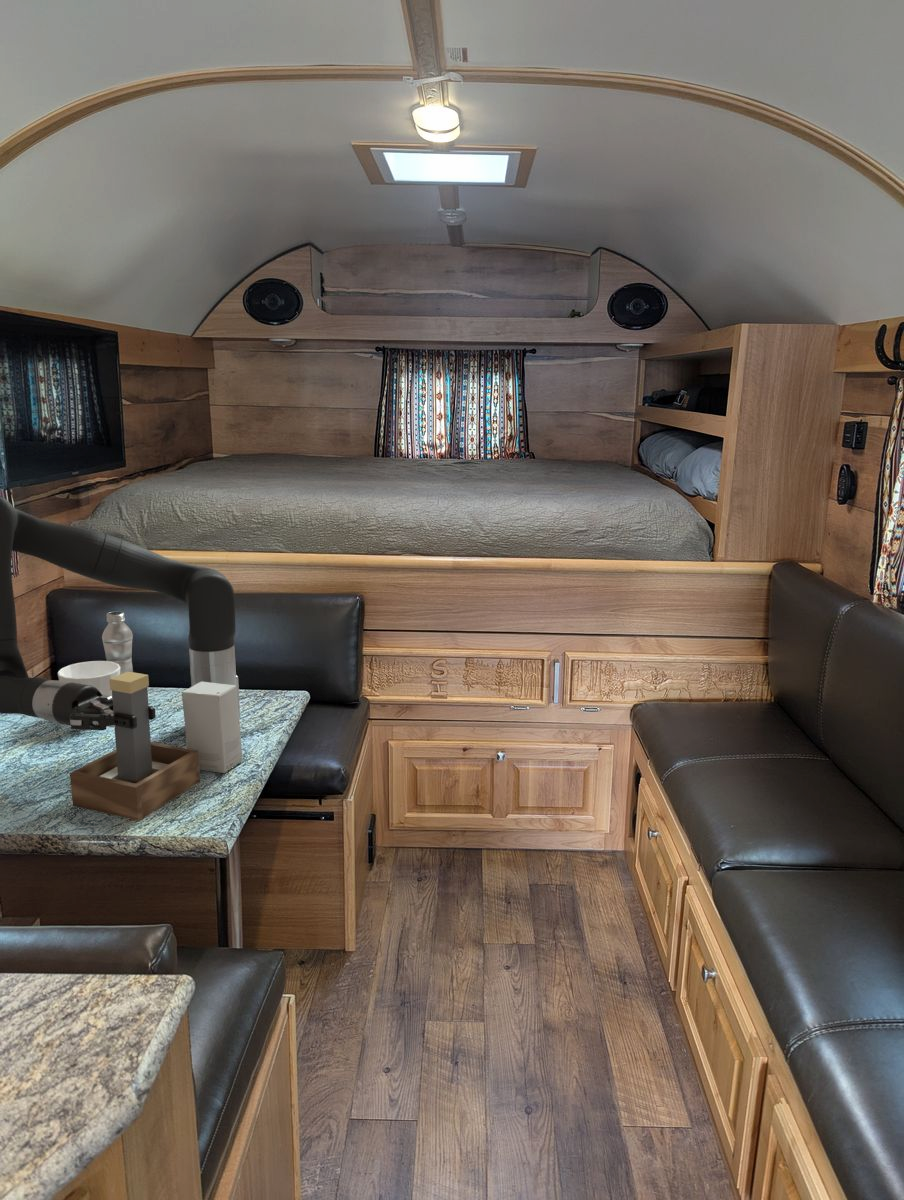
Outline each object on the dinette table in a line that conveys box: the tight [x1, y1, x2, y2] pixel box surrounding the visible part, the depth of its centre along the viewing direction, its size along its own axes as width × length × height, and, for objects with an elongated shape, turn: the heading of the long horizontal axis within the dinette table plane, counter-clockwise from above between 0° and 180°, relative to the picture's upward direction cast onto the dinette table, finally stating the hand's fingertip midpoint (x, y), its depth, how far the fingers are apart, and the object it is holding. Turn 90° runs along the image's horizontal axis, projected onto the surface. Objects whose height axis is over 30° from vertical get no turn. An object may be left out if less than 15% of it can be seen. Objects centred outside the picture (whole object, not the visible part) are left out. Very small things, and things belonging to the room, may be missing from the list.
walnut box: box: [69, 741, 201, 822], centre depth 147 cm, size 16×14×6 cm
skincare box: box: [181, 682, 243, 774], centre depth 158 cm, size 8×7×16 cm
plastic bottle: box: [101, 611, 134, 674], centre depth 193 cm, size 6×7×20 cm
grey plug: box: [109, 671, 152, 781], centre depth 145 cm, size 4×4×18 cm
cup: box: [57, 660, 121, 696], centre depth 181 cm, size 12×12×11 cm
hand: (144, 717), depth 143 cm, fingers closed on grey plug, 4 cm apart
